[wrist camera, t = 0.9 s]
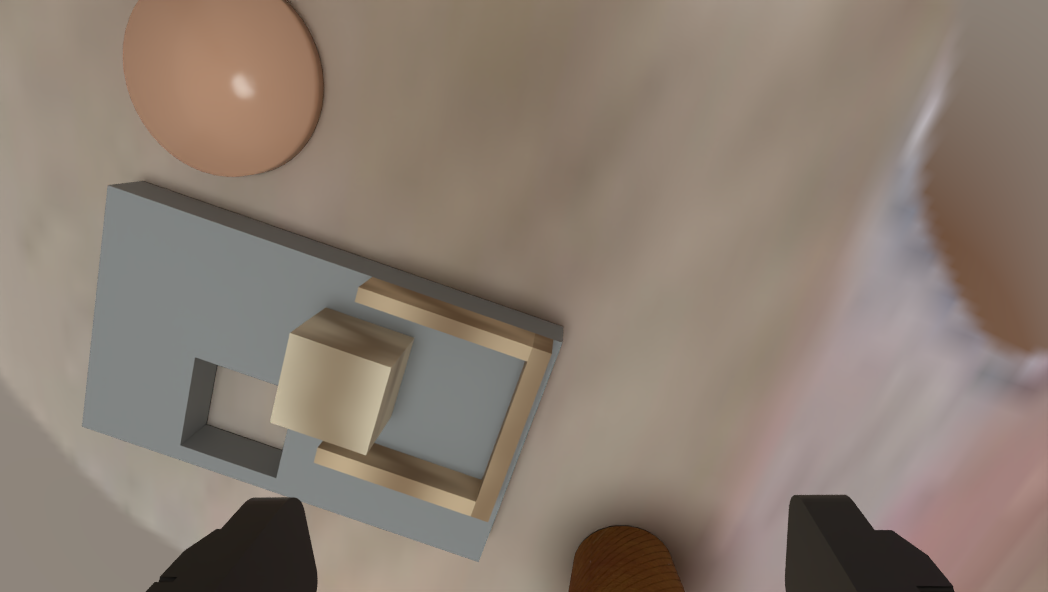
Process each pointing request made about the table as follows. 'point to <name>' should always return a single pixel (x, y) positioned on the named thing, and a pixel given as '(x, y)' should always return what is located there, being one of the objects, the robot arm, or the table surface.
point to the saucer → (224, 81)
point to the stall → (482, 494)
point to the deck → (282, 357)
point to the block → (340, 379)
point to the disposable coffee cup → (623, 563)
